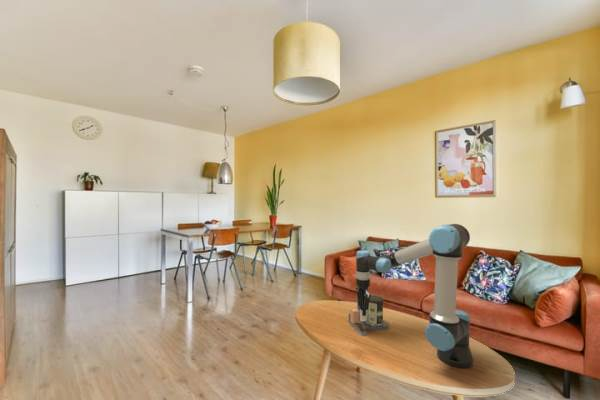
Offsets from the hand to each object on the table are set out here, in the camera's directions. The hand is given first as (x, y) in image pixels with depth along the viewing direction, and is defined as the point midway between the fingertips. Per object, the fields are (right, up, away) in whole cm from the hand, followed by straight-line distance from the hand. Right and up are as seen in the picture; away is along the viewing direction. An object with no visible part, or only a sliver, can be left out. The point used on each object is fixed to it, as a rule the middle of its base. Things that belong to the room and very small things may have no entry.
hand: (363, 320), depth 156 cm
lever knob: (-3, -5, +9) cm, 11 cm away
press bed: (+8, -7, +12) cm, 16 cm away
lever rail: (-2, -7, +5) cm, 9 cm away
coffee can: (+9, -5, +10) cm, 14 cm away
